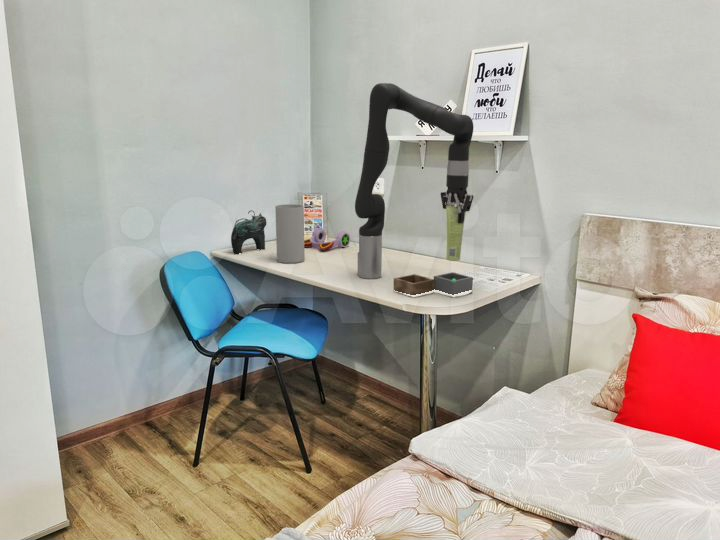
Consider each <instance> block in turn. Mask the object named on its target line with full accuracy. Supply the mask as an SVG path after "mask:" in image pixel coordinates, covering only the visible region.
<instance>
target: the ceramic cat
mask: <svg viewBox="0 0 720 540" xmlns="http://www.w3.org/2000/svg"><path fill="white" fill-rule="evenodd" d="M251 212H253V213H254V214H253V215H251V217H252V218H251V219H247V218H244V219H243V218H240V219H237V220H236V221H235V223H234V227H233V229H232V232H231V235H230V242H231V246H232V253H235V254H234V255H236V254H237V255H240V254H239V253H241V254H243V251H242V250H243V249H242V248H243V244H244V243H245V242H246V241H247V240H250V239H252V241H254V244H255V247H256V250H257V249H260V250H259V251H262V250H261V249H263V250H265V249H266V236H265V235H266V234H265V228H266V227H267V226H266V225H267V219H266V217H265V216H263V215H262V212H261V213H259V214H258V215H256V214H255V211H254V210H249V211H248V212H247V214H248V215H249V214H250V213H251Z"/></svg>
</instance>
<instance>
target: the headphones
mask: <svg viewBox="0 0 720 540" xmlns="http://www.w3.org/2000/svg"><path fill="white" fill-rule="evenodd" d="M326 238H327V234H326V230H325V229H323V228H321V227H317V228H315V229H314V230H313V231H312V235H311V237H310V238H307V239H304V248H305V247H306V248H307V247H308V248H310V247H311V248H312V249H315V250H322V251H326V250H331V249H334V248H337V247H338V248H339V249H343V248H342V247H345V248H347V247H348V246H349V245H350V243H351V236H350V234H349V233H348V232H347V231H340V232H338V233H337V236H336V238H335V239H334V240H331V241H326V242H325V240H326Z"/></svg>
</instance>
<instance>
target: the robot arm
mask: <svg viewBox="0 0 720 540" xmlns="http://www.w3.org/2000/svg"><path fill="white" fill-rule="evenodd" d="M368 107H369V108H368V109H369V110H368V111H369V113H368V123H367V124H368V125H367V133H366V141H365V146H364V152H363V162H362V169H361V175H360V178H359V179H360V181H359V184H358V188H357V193H356V197H355V201H354V211H355V215H356V216H357V218H359V219H362V220H363V219H367V221H366V222H365V223H364V224H363V225H361V226H360V227H359V230H358V252H357V276H358V277H359V278H362V279H368V280H369V279H371V280H373V279H379V277H380V278H381V277H382V265H383V264H382V261H383V260H382V259H383V254H382V253H383V230H384V227H385V216H386V215H385V213H386V205H385V199H384V198H383V196H382V195H381V194H378V193H373V192H374V188H375V184H376V183H377V180H378V179H379V177H380V176H381V174H382V173H383V171H384V170H385V169H386V167H387V164H388V160H389V155H390V154H389V153H390V140H389V137H388V132H387V117H388V113H389V110H399V111H403V112H407V113H408V114H410V115H412V116H413V117H414V118H416V119H418V120H419V121H421V122H424V123H425V124H428V125H430V126H433V127H436V128H438V129H440V130H441V131H443V132H445V133H446V134H449V135H451V136H453V141H452V142H451V144H449V147H448V154H447V155H448V158H447V166H446V183H445V184H446V187H447V189H446V191H444V192H443V191H442V192H441V191H440V201H441V203H442V204H441V205H442V206H441V207H442V209H443V210H446V206H457V207H458V211H459V213H458V223H459V224H461V223H463V222H464V223H465V220H464V215H465V216H466V214H465V212H466V213H467V212H470V210H471V208H472V207H471V206H472V203H473V200H474V195H473V194H469V193H468V186H469V176H470V174H469V173H470V168H469V167H470V165H469V162H470V161H469V158H470V147H471V142H472V138H473V134H474V122H473V119H472V117H471V116H470V115H467V114H460V113H459V114H458V113H455V112H452V111H450V110H448V109H447V108H445V107H443V106H441V105H439V104H436V103H433V102H430V101H429V100H425V99H422V98H420V97H417V96H415V95H413V94H411V93H409V92H408V91H406V90H404V89H403V88H401V87H400V86H398V85H396V84H394V83H387V82H385V83H384V82H379V83H377V84H375V85H374V86H373V87H372V88H371V91H370V95H369V105H368ZM461 207H462V208H461Z"/></svg>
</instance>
